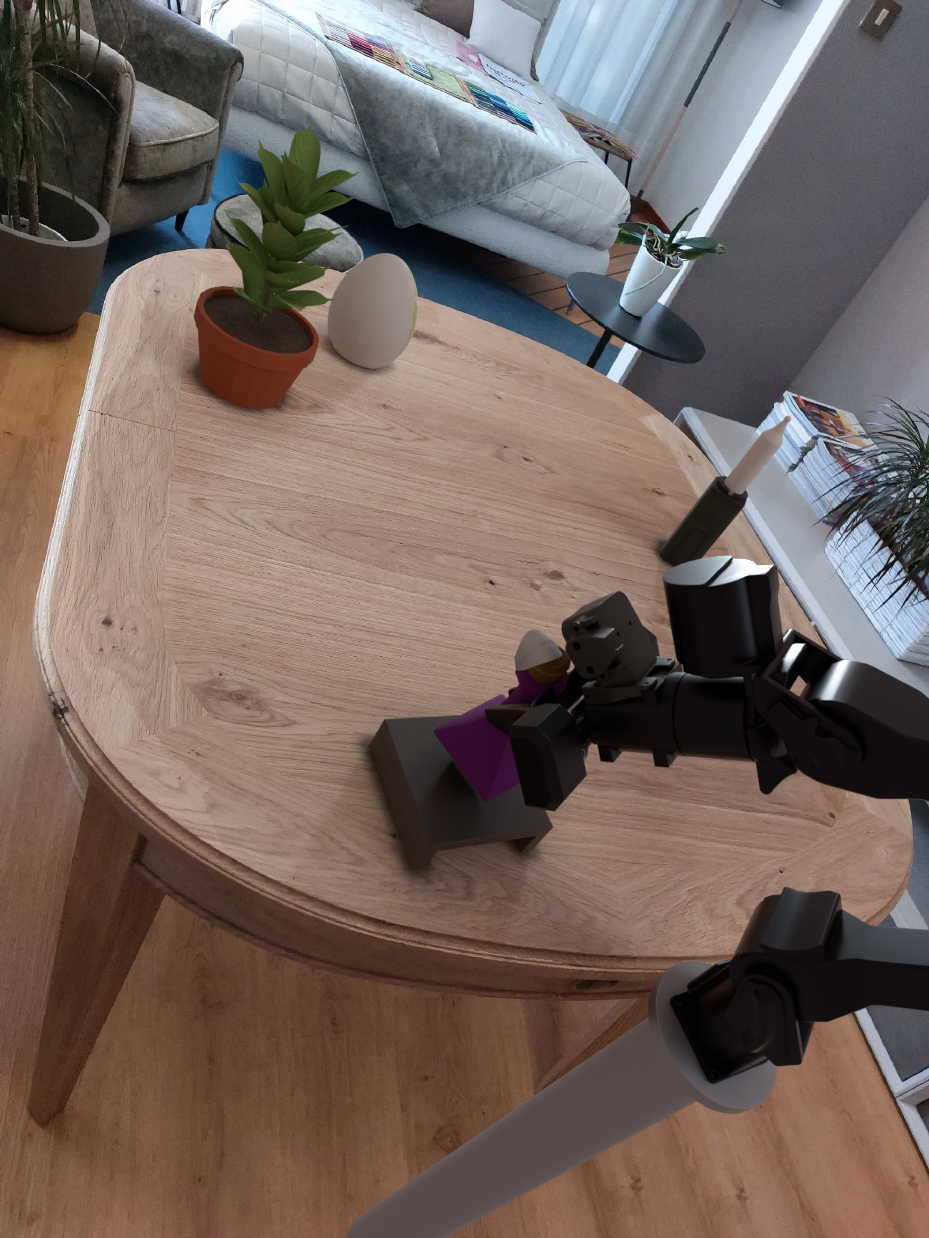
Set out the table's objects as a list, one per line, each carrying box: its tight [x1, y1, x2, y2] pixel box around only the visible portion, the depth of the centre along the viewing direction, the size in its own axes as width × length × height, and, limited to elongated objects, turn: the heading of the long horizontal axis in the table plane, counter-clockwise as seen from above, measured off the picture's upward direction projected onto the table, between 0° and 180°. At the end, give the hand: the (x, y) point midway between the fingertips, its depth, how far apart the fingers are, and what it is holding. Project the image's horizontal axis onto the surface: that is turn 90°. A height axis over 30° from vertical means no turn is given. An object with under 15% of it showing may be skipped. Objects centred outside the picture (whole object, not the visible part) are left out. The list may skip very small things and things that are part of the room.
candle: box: [659, 415, 792, 567], centre depth 113 cm, size 5×5×25 cm
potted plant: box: [193, 122, 362, 410], centre depth 95 cm, size 15×15×30 cm
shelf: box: [368, 714, 554, 871], centre depth 72 cm, size 12×12×4 cm
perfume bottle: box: [434, 628, 572, 802], centre depth 65 cm, size 8×8×18 cm
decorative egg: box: [327, 252, 419, 370], centre depth 118 cm, size 12×12×15 cm
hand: (498, 704), depth 66 cm, fingers closed on perfume bottle, 3 cm apart
